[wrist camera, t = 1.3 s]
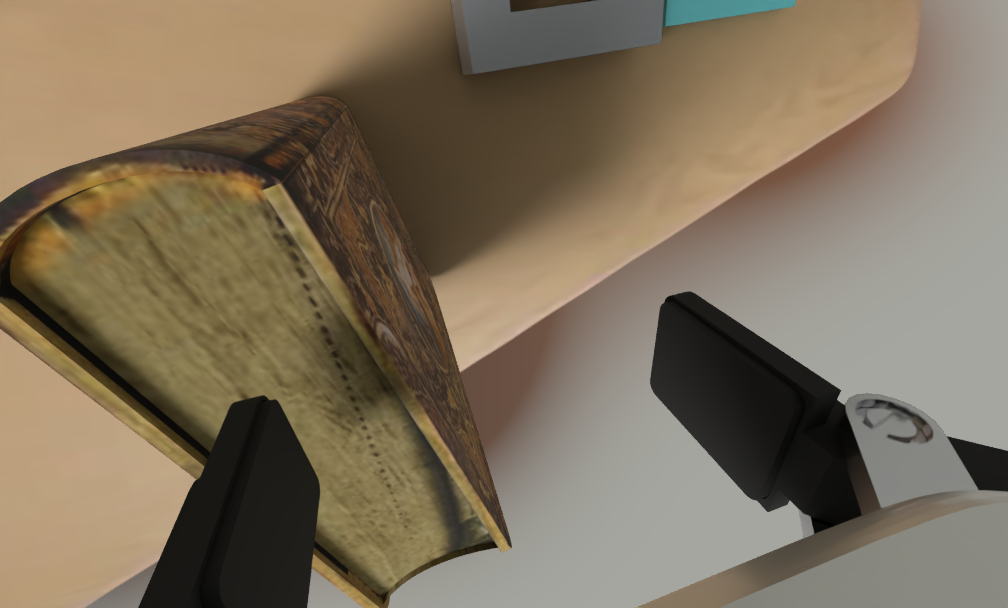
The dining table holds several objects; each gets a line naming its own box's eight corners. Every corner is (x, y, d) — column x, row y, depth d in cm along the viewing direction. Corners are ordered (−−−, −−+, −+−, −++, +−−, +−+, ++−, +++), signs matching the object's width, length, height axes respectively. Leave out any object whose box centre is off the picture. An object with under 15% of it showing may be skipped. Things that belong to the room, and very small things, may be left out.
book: (261, 114, 27) (-123, 235, 6) (338, 85, 27) (234, 105, 6) (375, 305, 36) (382, 623, 15) (432, 281, 36) (516, 557, 15)
